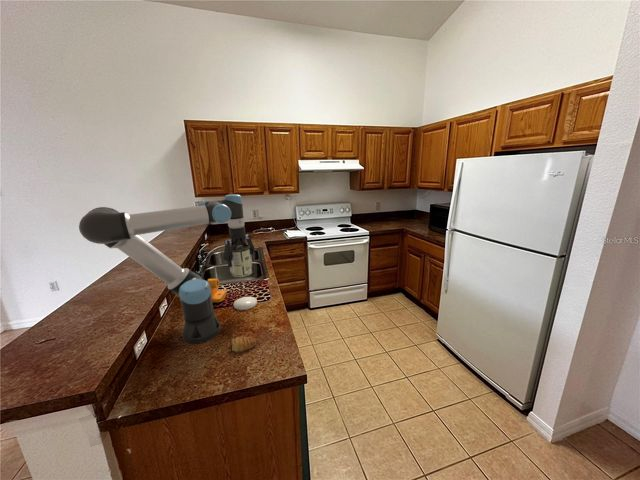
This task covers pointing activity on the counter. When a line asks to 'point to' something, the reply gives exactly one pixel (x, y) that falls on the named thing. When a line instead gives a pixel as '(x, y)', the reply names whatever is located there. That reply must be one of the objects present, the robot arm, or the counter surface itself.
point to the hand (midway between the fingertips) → (241, 269)
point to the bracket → (216, 291)
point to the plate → (245, 303)
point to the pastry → (243, 343)
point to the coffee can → (242, 261)
